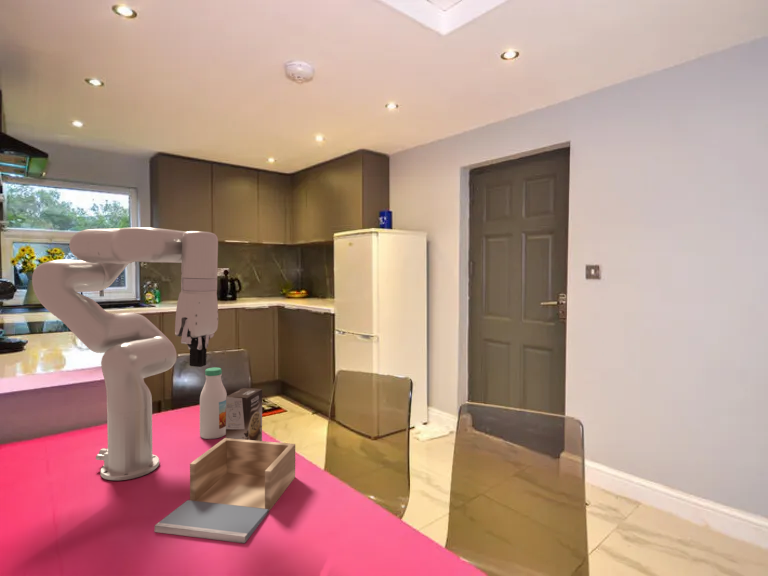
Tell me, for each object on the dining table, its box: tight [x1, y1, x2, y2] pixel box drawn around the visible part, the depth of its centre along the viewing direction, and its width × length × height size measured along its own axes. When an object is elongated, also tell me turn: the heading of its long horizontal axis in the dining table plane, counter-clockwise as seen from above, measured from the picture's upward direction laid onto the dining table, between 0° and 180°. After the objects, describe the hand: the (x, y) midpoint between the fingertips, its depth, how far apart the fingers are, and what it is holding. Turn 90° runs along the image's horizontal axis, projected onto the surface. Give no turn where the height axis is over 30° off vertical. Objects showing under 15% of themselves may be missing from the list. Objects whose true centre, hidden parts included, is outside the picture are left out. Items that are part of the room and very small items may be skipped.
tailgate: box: [153, 499, 271, 544], centre depth 84 cm, size 18×1×11 cm
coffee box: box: [225, 387, 263, 441], centre depth 119 cm, size 9×6×16 cm
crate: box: [189, 437, 296, 511], centre depth 97 cm, size 18×14×9 cm
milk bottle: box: [199, 367, 228, 440], centre depth 129 cm, size 8×8×20 cm
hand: (197, 365), depth 99 cm, fingers closed
